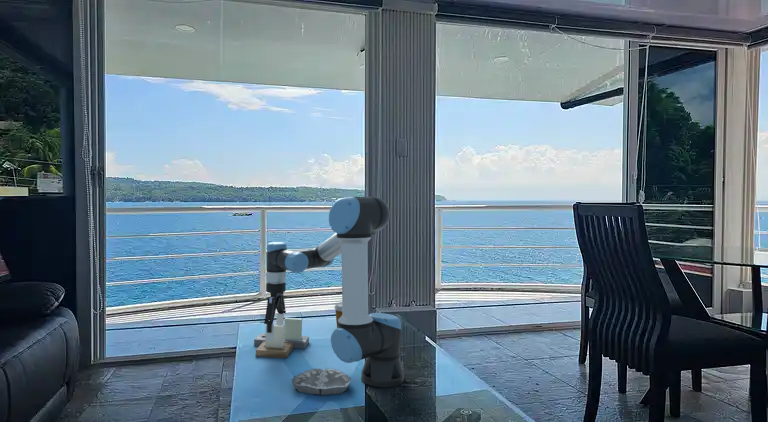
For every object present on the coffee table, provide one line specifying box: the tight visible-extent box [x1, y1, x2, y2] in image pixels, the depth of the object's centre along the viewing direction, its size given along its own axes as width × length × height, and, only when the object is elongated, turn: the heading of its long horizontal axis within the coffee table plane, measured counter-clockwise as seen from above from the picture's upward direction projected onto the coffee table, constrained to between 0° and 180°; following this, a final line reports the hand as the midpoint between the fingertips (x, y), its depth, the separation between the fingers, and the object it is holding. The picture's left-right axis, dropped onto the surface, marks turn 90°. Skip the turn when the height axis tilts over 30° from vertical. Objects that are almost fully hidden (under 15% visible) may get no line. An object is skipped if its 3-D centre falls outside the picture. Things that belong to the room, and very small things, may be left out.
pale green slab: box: [265, 324, 284, 348], centre depth 206 cm, size 2×7×11 cm, turn 85°
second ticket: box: [283, 317, 303, 340], centre depth 216 cm, size 2×7×11 cm, turn 85°
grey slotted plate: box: [253, 332, 310, 350], centre depth 217 cm, size 8×21×2 cm, turn 85°
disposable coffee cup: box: [334, 301, 342, 329], centre depth 238 cm, size 10×10×12 cm
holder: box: [255, 341, 294, 359], centre depth 207 cm, size 10×12×2 cm
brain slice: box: [291, 368, 352, 396], centre depth 177 cm, size 20×17×3 cm
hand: (274, 334), depth 206 cm, fingers open, 13 cm apart
